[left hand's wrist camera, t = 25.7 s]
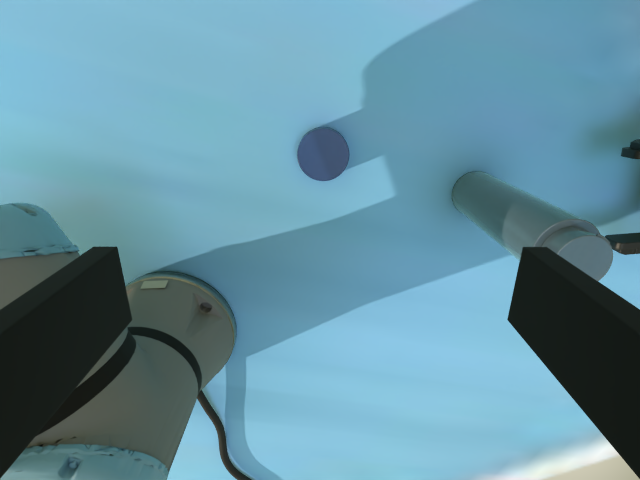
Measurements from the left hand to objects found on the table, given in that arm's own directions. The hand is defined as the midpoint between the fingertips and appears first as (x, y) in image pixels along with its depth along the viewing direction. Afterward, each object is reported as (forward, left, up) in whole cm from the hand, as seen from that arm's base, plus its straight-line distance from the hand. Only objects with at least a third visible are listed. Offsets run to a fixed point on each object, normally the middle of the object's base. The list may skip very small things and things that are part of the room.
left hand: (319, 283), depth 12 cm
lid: (0, 0, -27) cm, 27 cm away
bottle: (-3, -17, -29) cm, 34 cm away
